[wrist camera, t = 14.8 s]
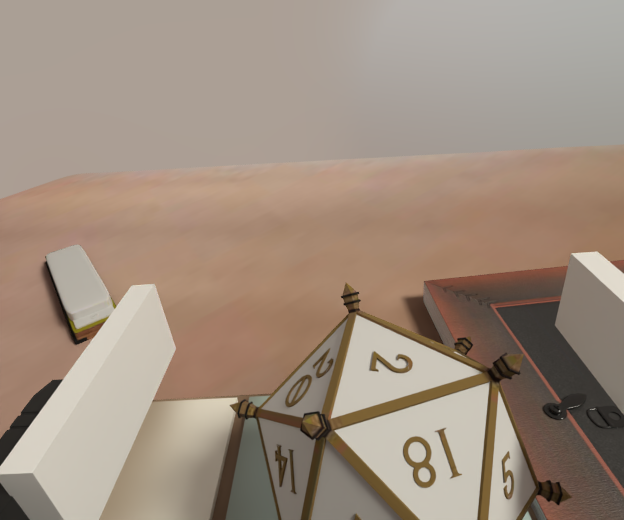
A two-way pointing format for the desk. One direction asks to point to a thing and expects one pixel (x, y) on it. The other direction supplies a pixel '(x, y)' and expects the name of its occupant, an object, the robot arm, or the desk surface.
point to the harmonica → (79, 292)
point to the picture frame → (541, 384)
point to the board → (197, 465)
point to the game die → (395, 431)
